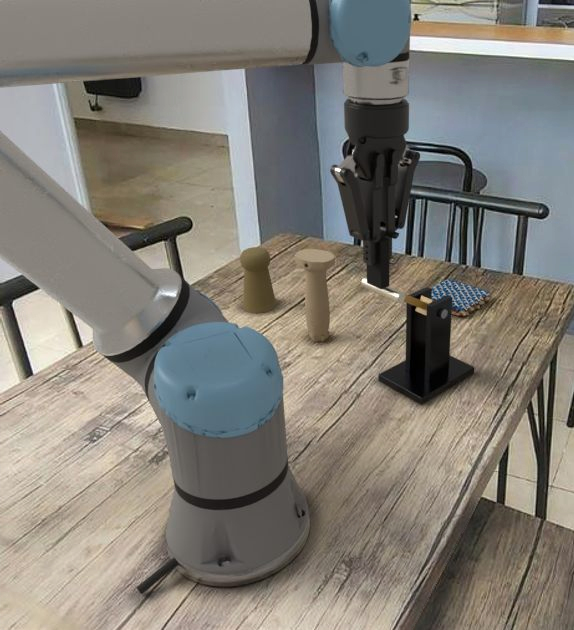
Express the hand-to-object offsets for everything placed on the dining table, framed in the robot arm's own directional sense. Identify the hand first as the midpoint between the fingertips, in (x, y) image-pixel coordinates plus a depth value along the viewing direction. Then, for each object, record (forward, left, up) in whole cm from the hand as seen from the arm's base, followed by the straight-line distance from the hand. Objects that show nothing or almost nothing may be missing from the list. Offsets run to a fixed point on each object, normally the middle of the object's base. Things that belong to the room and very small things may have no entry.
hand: (378, 284), depth 89 cm
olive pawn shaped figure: (+6, +38, -19) cm, 43 cm away
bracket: (+10, 0, -19) cm, 22 cm away
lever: (+5, 0, -5) cm, 7 cm away
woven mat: (+33, +14, -19) cm, 41 cm away
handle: (+6, +21, -19) cm, 29 cm away
